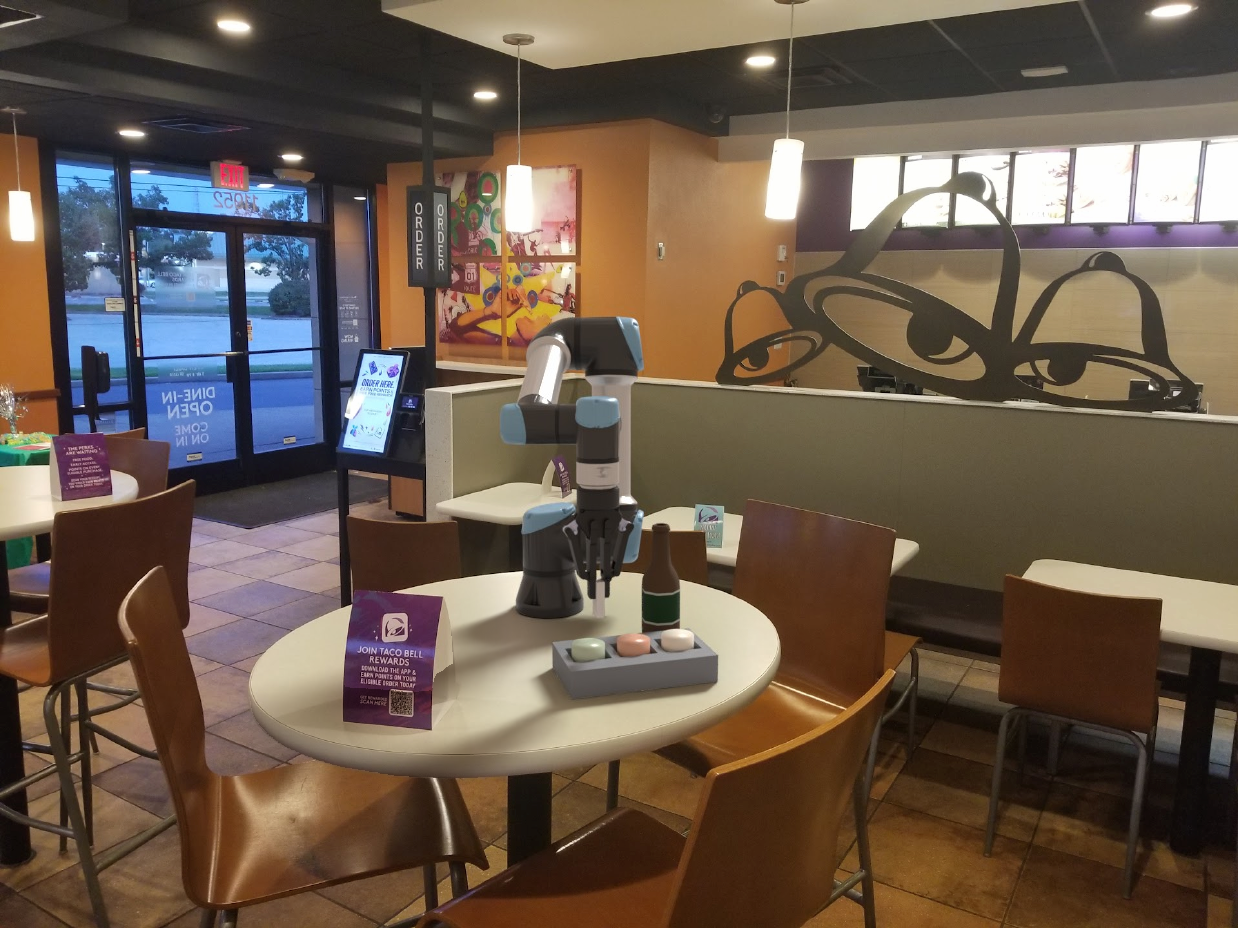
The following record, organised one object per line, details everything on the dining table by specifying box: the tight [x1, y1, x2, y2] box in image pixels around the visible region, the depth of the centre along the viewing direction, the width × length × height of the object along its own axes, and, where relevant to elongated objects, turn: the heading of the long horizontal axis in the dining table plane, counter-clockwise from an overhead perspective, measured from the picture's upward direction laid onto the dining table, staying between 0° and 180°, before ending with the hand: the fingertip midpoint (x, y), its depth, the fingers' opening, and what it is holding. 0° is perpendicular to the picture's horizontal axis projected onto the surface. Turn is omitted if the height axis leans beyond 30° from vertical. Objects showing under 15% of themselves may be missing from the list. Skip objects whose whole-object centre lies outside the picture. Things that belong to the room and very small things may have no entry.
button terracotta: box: [617, 632, 650, 657], centre depth 172 cm, size 6×6×4 cm
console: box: [551, 627, 719, 700], centre depth 172 cm, size 15×27×5 cm, turn 106°
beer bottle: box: [641, 522, 681, 633], centre depth 188 cm, size 8×8×24 cm
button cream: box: [661, 628, 694, 652], centre depth 174 cm, size 6×6×4 cm
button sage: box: [571, 637, 605, 662], centre depth 169 cm, size 6×6×4 cm
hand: (598, 615), depth 168 cm, fingers closed
